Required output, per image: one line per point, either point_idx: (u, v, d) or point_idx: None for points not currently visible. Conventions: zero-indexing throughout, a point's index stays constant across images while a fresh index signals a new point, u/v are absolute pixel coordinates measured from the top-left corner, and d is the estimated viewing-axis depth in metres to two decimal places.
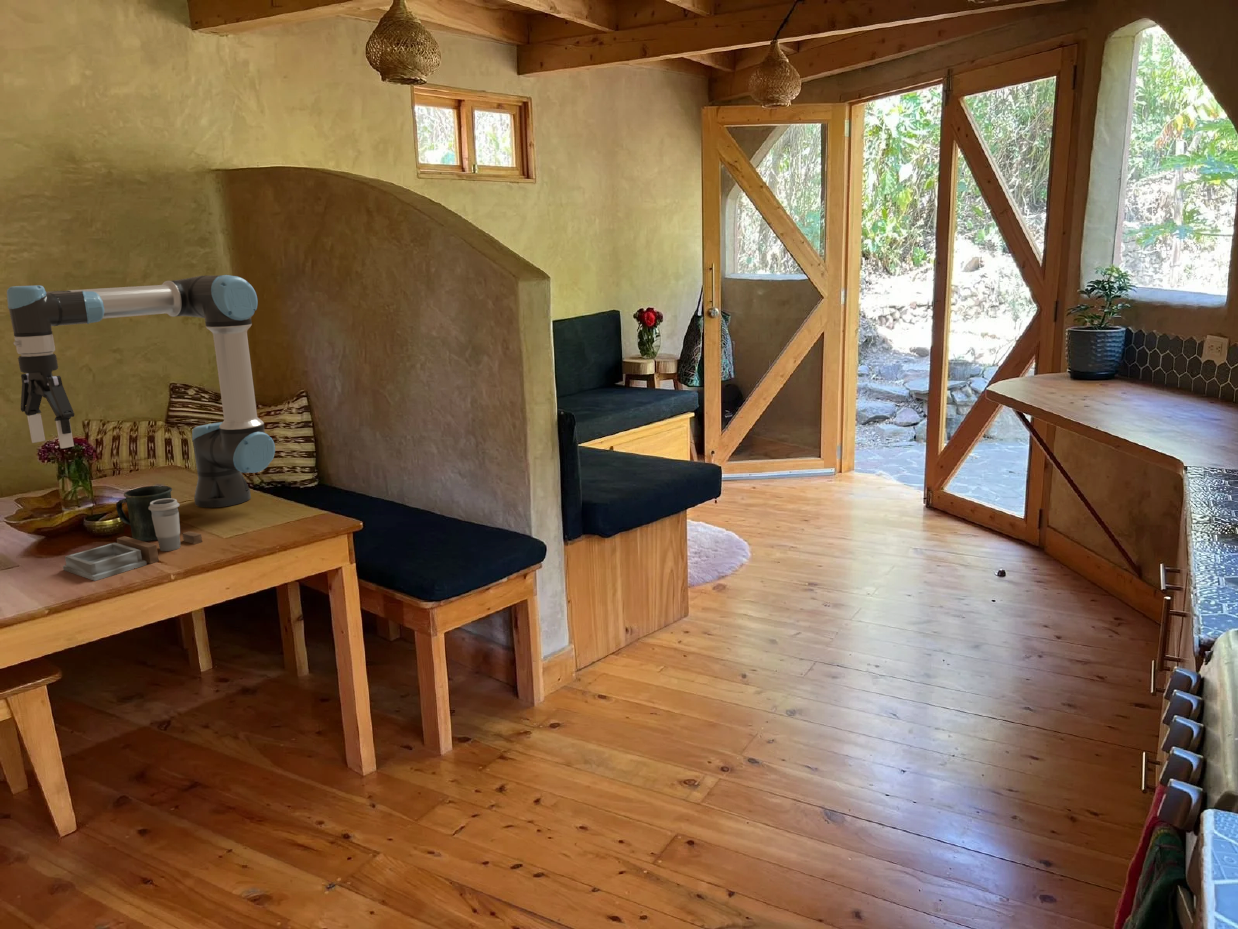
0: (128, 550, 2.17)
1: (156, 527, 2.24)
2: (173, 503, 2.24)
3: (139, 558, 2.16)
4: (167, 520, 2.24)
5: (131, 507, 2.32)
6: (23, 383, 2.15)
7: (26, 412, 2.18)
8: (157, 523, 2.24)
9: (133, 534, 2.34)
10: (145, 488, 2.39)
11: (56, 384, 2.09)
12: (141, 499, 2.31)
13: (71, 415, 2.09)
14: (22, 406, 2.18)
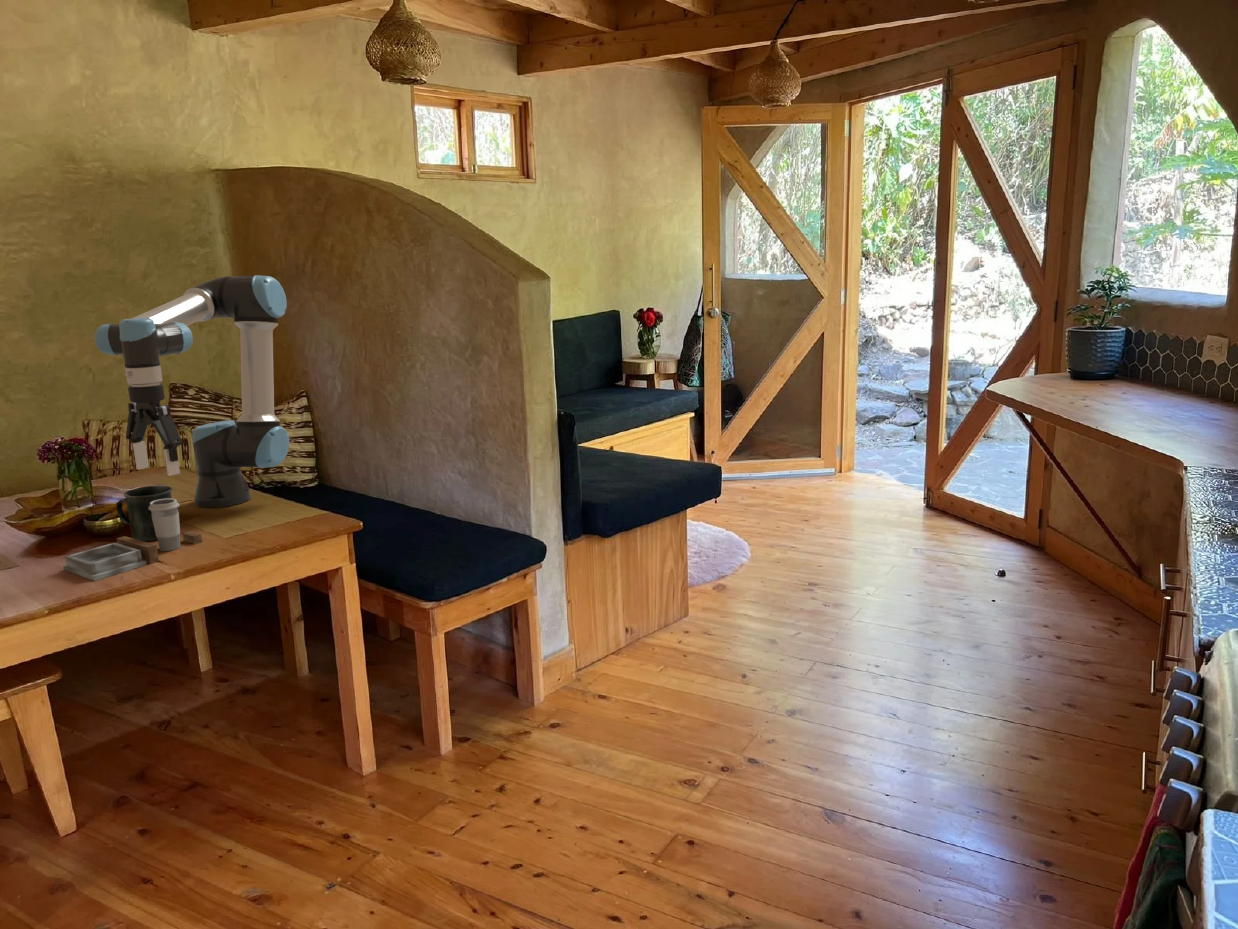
0: (128, 550, 2.17)
1: (156, 527, 2.24)
2: (173, 503, 2.24)
3: (139, 558, 2.16)
4: (167, 520, 2.24)
5: (131, 507, 2.32)
6: (130, 412, 2.22)
7: (132, 440, 2.24)
8: (157, 523, 2.24)
9: (133, 534, 2.34)
10: (145, 488, 2.39)
11: (165, 414, 2.16)
12: (141, 499, 2.31)
13: (179, 444, 2.16)
14: (128, 434, 2.25)
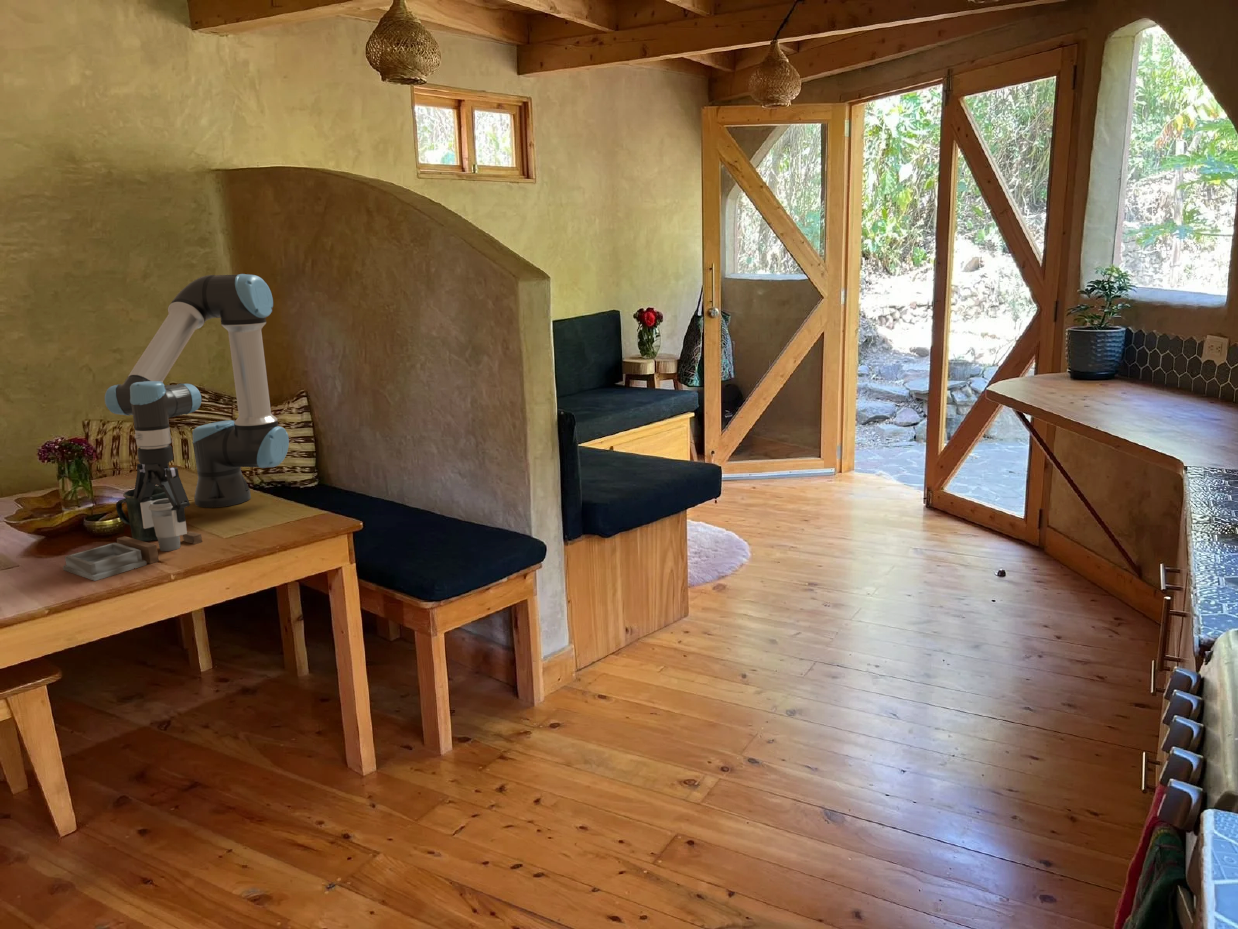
0: (128, 550, 2.17)
1: (156, 527, 2.24)
2: None
3: (139, 558, 2.16)
4: (167, 520, 2.24)
5: (130, 507, 2.32)
6: (138, 472, 2.25)
7: (139, 499, 2.27)
8: (157, 523, 2.24)
9: (133, 534, 2.34)
10: None
11: (173, 475, 2.19)
12: None
13: (187, 505, 2.19)
14: (135, 493, 2.28)
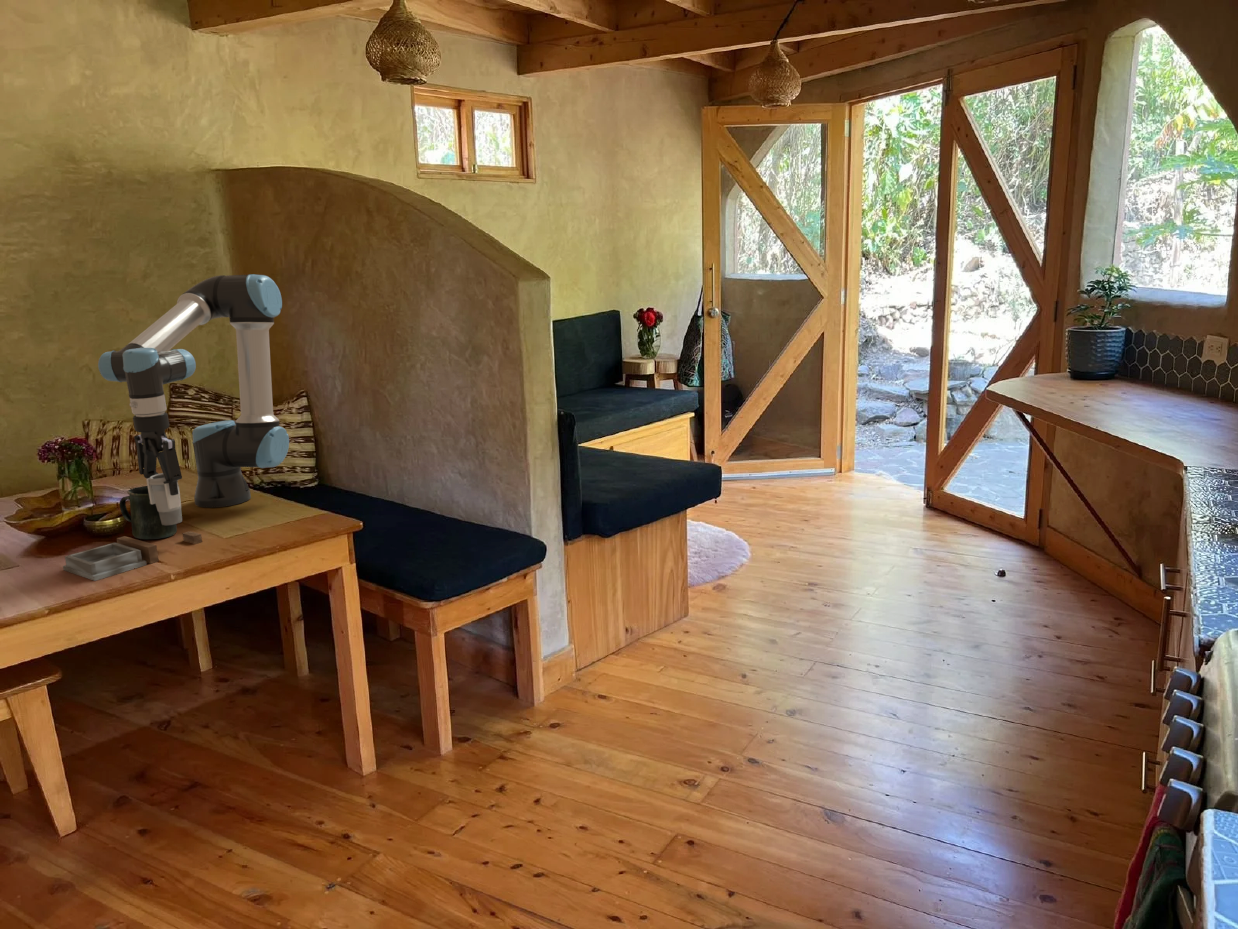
0: (128, 550, 2.17)
1: (157, 501, 2.24)
2: None
3: (139, 558, 2.16)
4: None
5: (133, 504, 2.32)
6: (137, 444, 2.24)
7: (145, 475, 2.25)
8: (158, 497, 2.23)
9: (133, 532, 2.34)
10: None
11: (170, 448, 2.18)
12: (143, 497, 2.31)
13: (179, 478, 2.20)
14: (140, 468, 2.26)
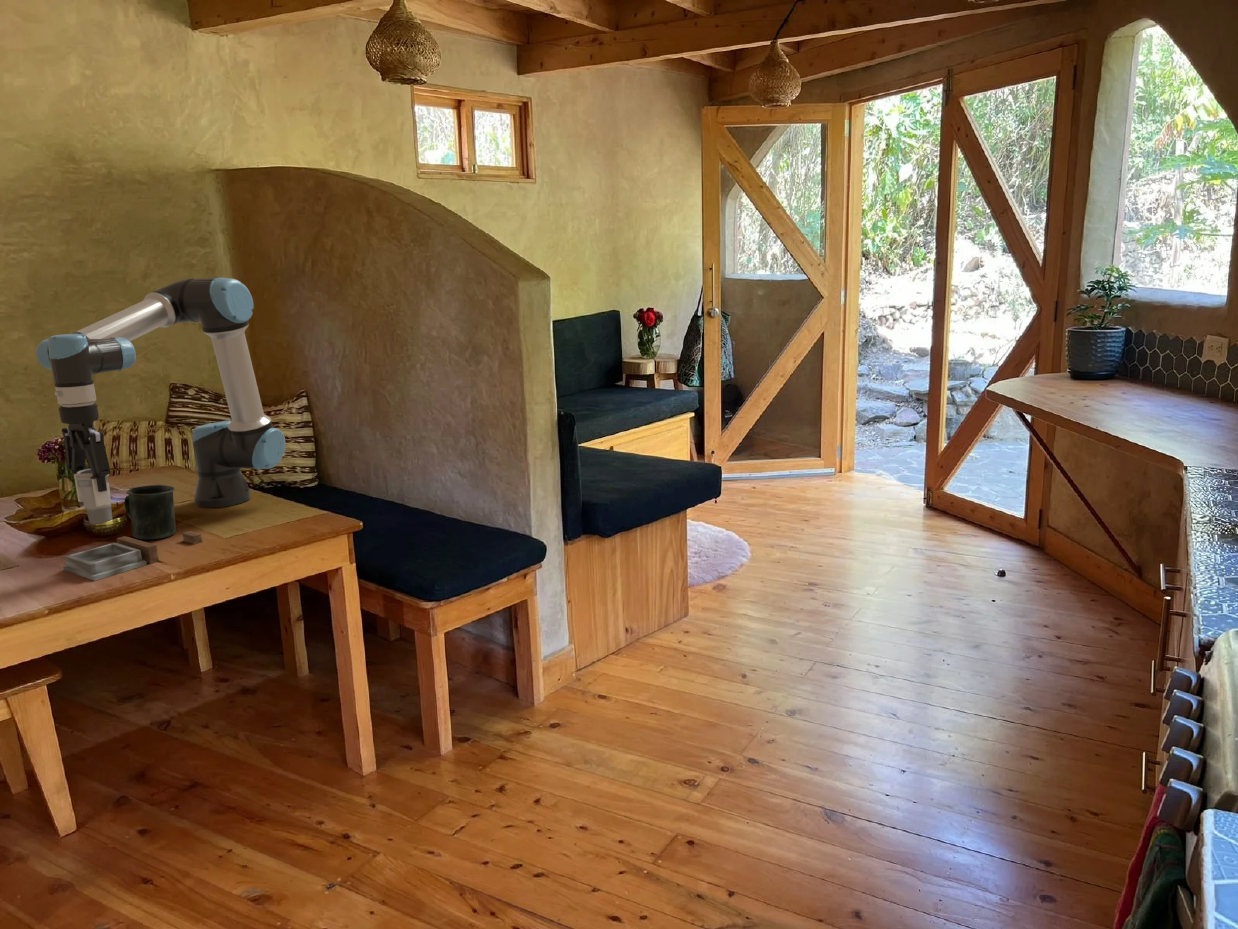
0: (128, 550, 2.17)
1: (84, 498, 2.09)
2: None
3: (139, 558, 2.16)
4: None
5: (130, 504, 2.33)
6: (64, 437, 2.10)
7: (73, 470, 2.11)
8: (85, 494, 2.09)
9: None
10: (154, 486, 2.40)
11: (97, 440, 2.04)
12: (138, 497, 2.31)
13: (107, 473, 2.06)
14: (68, 464, 2.12)
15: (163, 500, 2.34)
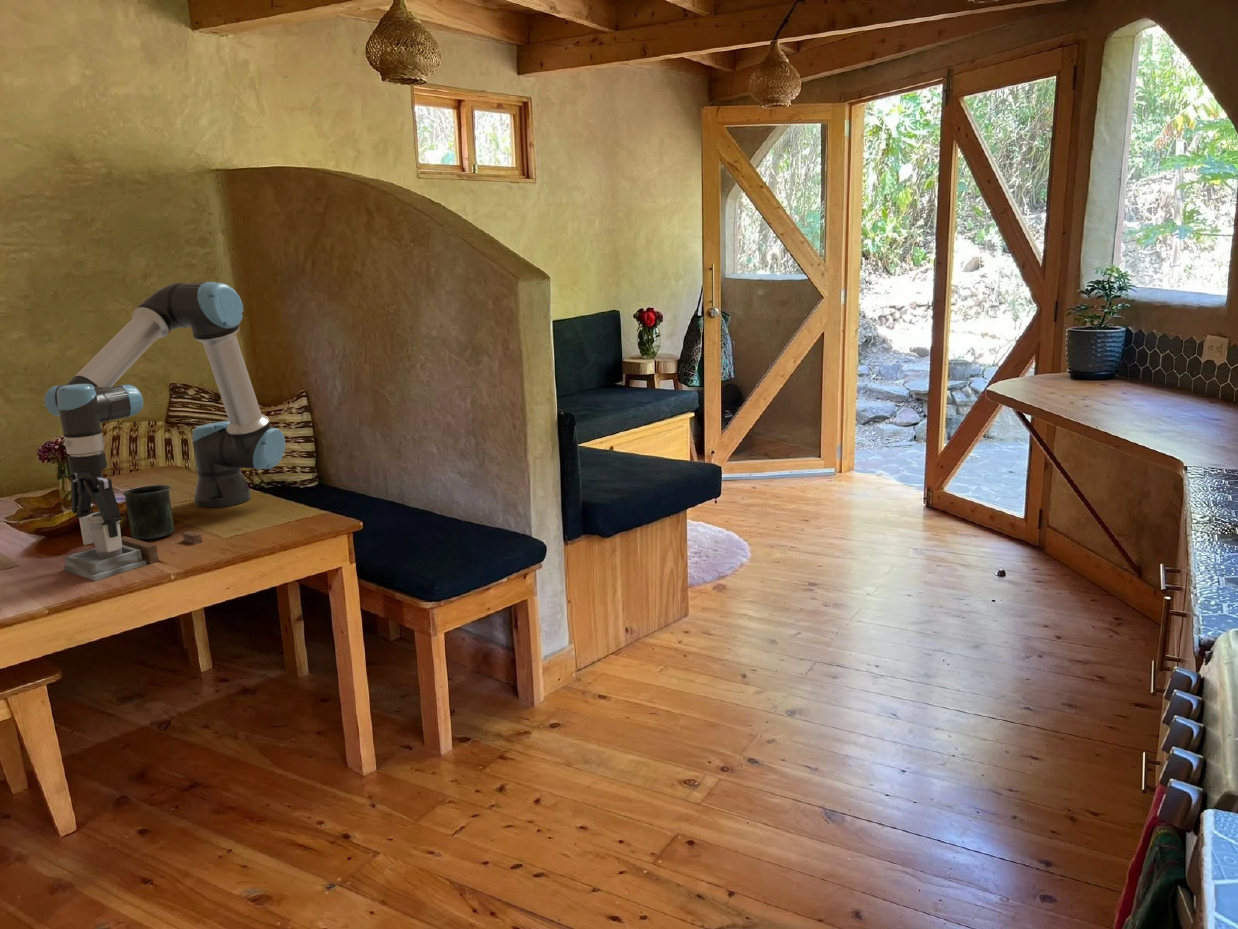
0: (128, 550, 2.17)
1: (95, 541, 2.11)
2: None
3: (139, 558, 2.16)
4: None
5: (126, 504, 2.33)
6: (72, 483, 2.13)
7: (78, 514, 2.14)
8: (96, 536, 2.10)
9: None
10: (153, 487, 2.40)
11: (106, 487, 2.07)
12: (131, 497, 2.31)
13: (118, 519, 2.08)
14: (73, 507, 2.15)
15: (156, 500, 2.33)
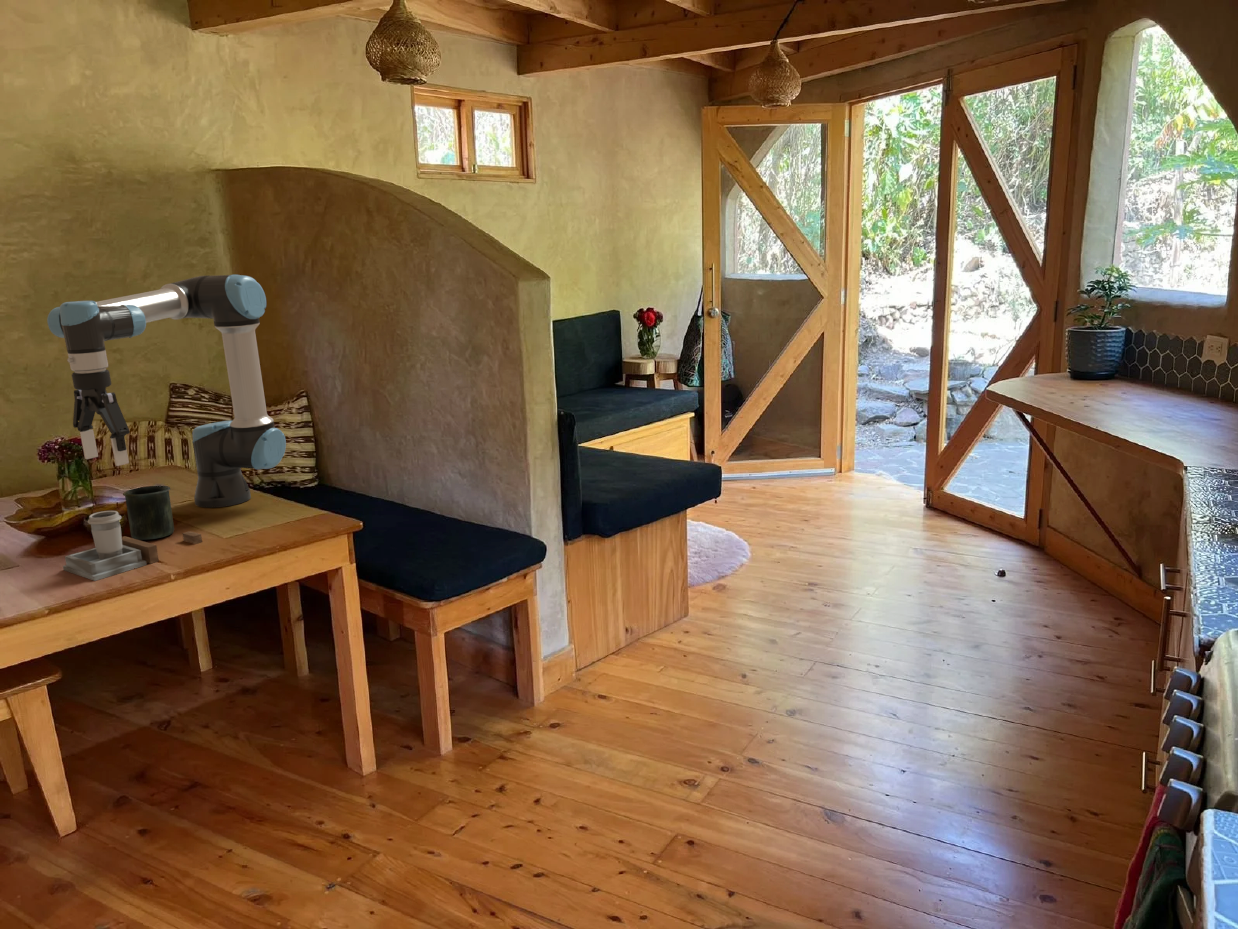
0: (128, 550, 2.17)
1: (96, 542, 2.11)
2: (114, 516, 2.11)
3: (139, 558, 2.16)
4: (108, 534, 2.10)
5: (126, 504, 2.34)
6: (76, 399, 2.13)
7: (79, 428, 2.15)
8: (97, 537, 2.10)
9: None
10: (155, 487, 2.40)
11: (111, 401, 2.06)
12: (129, 497, 2.31)
13: (126, 432, 2.07)
14: (75, 422, 2.16)
15: (154, 501, 2.32)
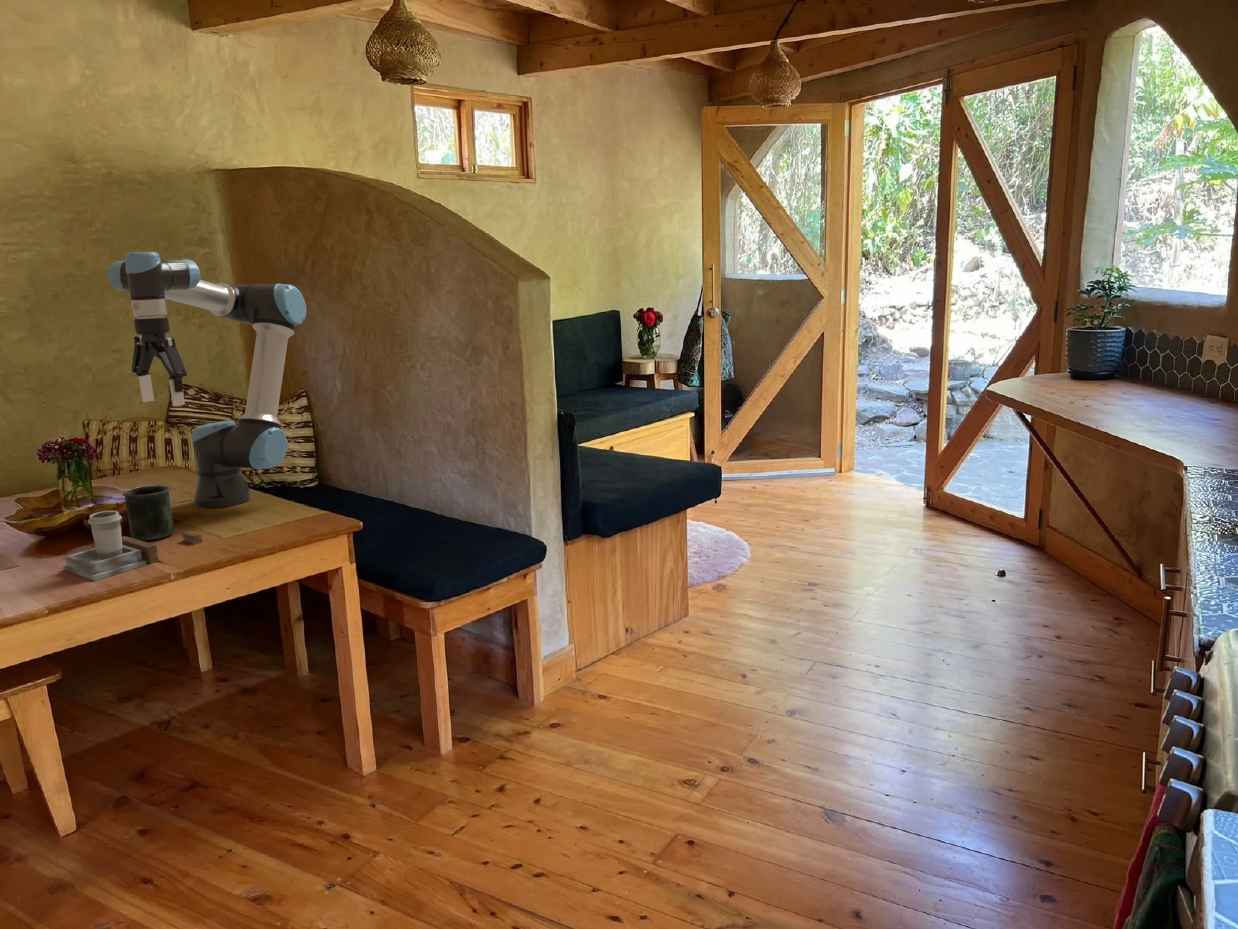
0: (128, 550, 2.17)
1: (96, 541, 2.11)
2: (114, 516, 2.11)
3: (139, 558, 2.16)
4: (108, 534, 2.10)
5: None
6: (135, 345, 2.28)
7: (137, 373, 2.30)
8: (97, 537, 2.10)
9: None
10: (156, 487, 2.40)
11: (170, 345, 2.21)
12: (128, 498, 2.31)
13: (184, 374, 2.22)
14: (133, 367, 2.30)
15: (152, 502, 2.32)
